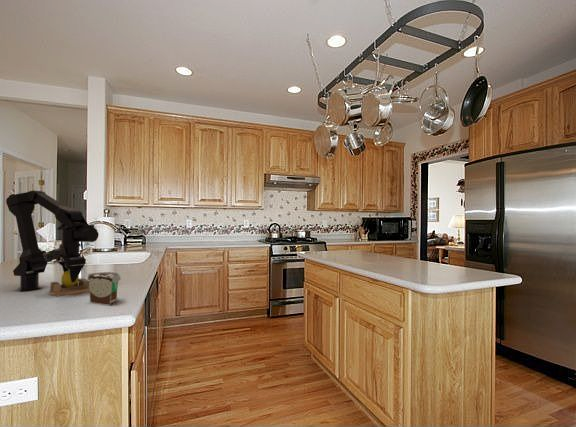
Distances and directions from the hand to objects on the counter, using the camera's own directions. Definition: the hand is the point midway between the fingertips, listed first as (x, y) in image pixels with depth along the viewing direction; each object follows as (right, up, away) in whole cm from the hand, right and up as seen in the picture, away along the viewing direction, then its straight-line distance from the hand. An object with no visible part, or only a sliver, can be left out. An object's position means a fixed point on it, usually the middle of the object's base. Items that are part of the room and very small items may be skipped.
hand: (70, 280), depth 119 cm
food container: (+23, -5, -13) cm, 27 cm away
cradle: (0, -5, 0) cm, 4 cm away
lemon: (0, -4, 0) cm, 4 cm away
